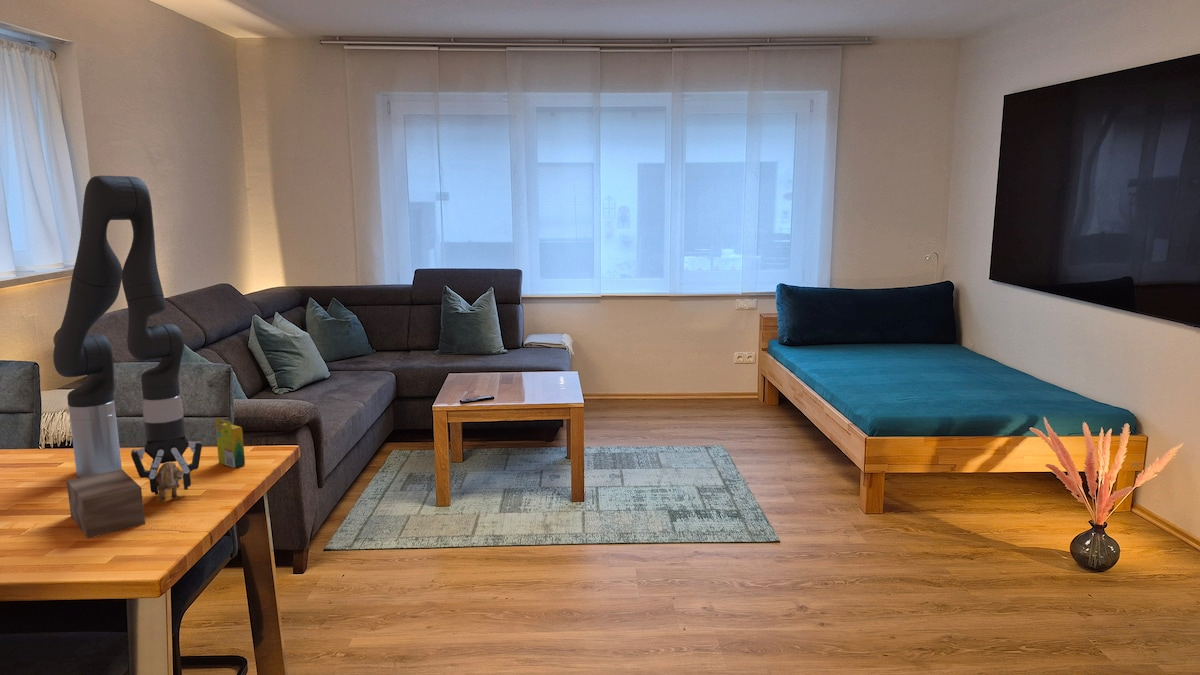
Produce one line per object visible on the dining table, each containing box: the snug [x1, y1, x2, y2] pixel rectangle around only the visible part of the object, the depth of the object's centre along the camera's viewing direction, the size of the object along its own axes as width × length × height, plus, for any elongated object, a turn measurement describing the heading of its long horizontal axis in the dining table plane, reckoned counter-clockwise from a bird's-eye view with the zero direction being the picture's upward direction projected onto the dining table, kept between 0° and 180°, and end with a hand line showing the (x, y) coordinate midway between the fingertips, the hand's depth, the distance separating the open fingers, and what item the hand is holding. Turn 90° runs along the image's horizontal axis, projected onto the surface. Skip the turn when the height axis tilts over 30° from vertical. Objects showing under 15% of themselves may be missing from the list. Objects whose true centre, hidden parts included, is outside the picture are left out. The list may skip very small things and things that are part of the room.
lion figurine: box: [156, 462, 185, 503], centre depth 175 cm, size 15×5×9 cm, turn 34°
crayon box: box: [214, 417, 246, 469], centre depth 195 cm, size 7×3×12 cm, turn 54°
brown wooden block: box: [66, 469, 146, 539], centre depth 162 cm, size 15×10×8 cm, turn 44°
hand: (171, 490), depth 175 cm, fingers open, 5 cm apart
